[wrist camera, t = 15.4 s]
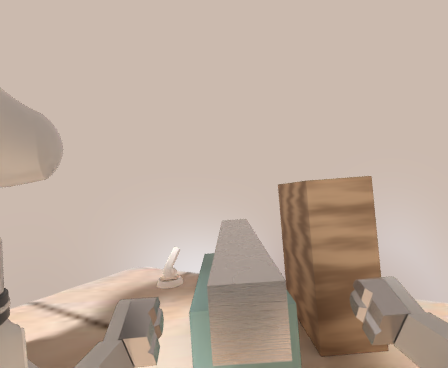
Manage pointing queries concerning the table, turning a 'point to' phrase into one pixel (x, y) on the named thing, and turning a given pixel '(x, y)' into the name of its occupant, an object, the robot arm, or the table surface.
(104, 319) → the table surface
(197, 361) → the mint green rectangular block
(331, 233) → the stand
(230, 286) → the rail
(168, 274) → the hook
